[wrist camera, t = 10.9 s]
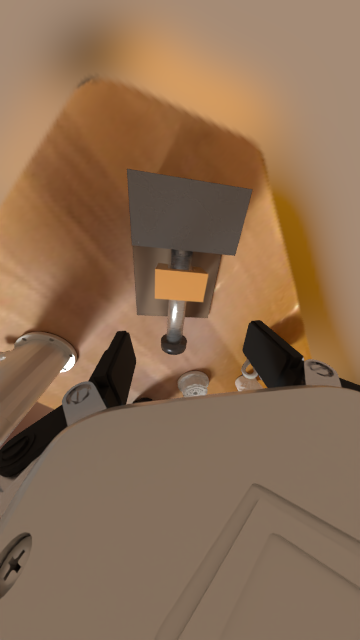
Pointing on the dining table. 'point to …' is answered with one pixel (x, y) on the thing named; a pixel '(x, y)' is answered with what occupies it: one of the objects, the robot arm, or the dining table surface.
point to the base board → (150, 258)
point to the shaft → (176, 309)
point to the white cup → (247, 384)
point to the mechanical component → (193, 383)
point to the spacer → (180, 283)
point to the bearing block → (185, 213)
